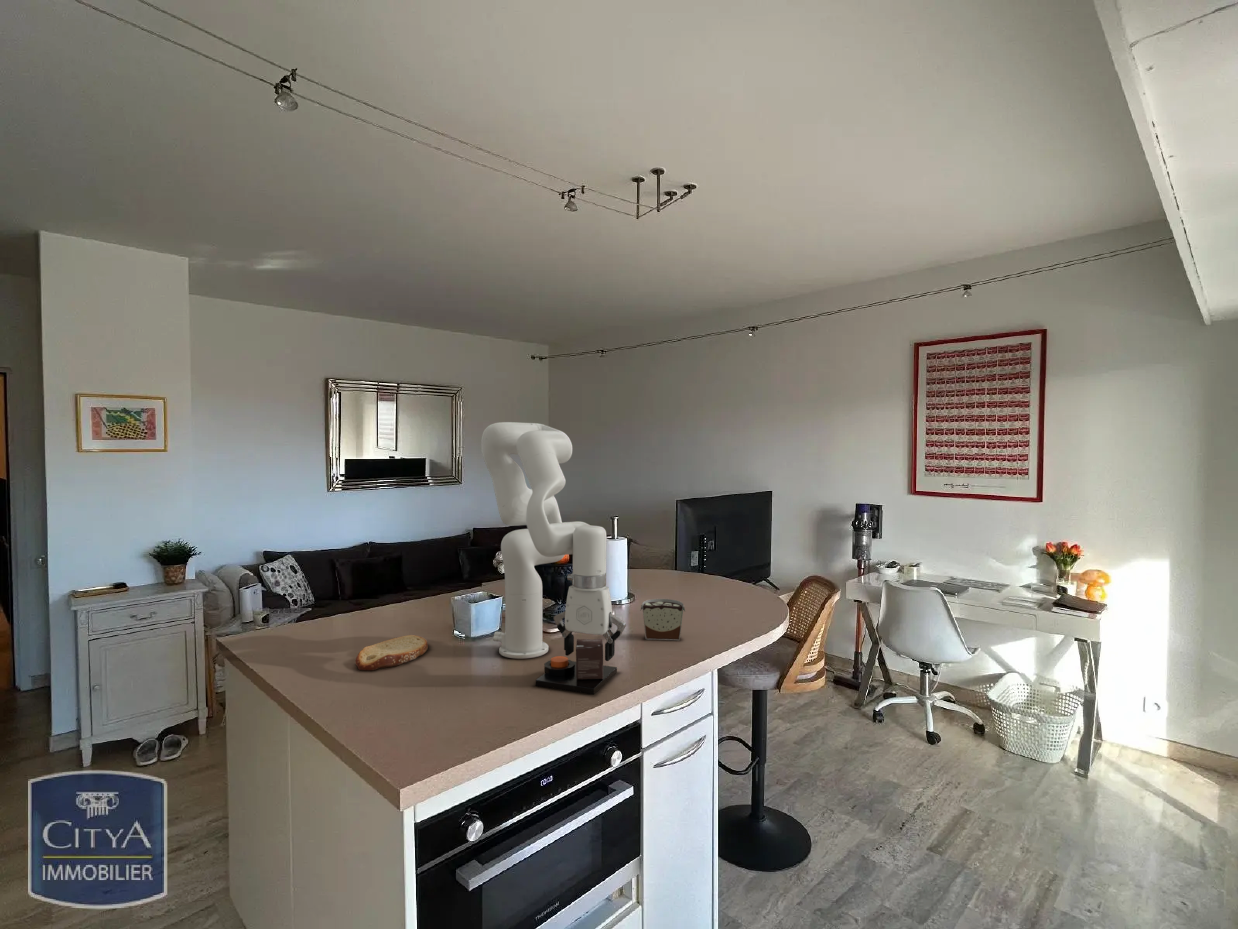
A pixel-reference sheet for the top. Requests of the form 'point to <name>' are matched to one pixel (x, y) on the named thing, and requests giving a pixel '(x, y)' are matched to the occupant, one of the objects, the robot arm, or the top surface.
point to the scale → (572, 679)
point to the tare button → (559, 661)
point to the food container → (662, 619)
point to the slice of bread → (391, 652)
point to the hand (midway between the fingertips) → (589, 656)
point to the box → (589, 659)
